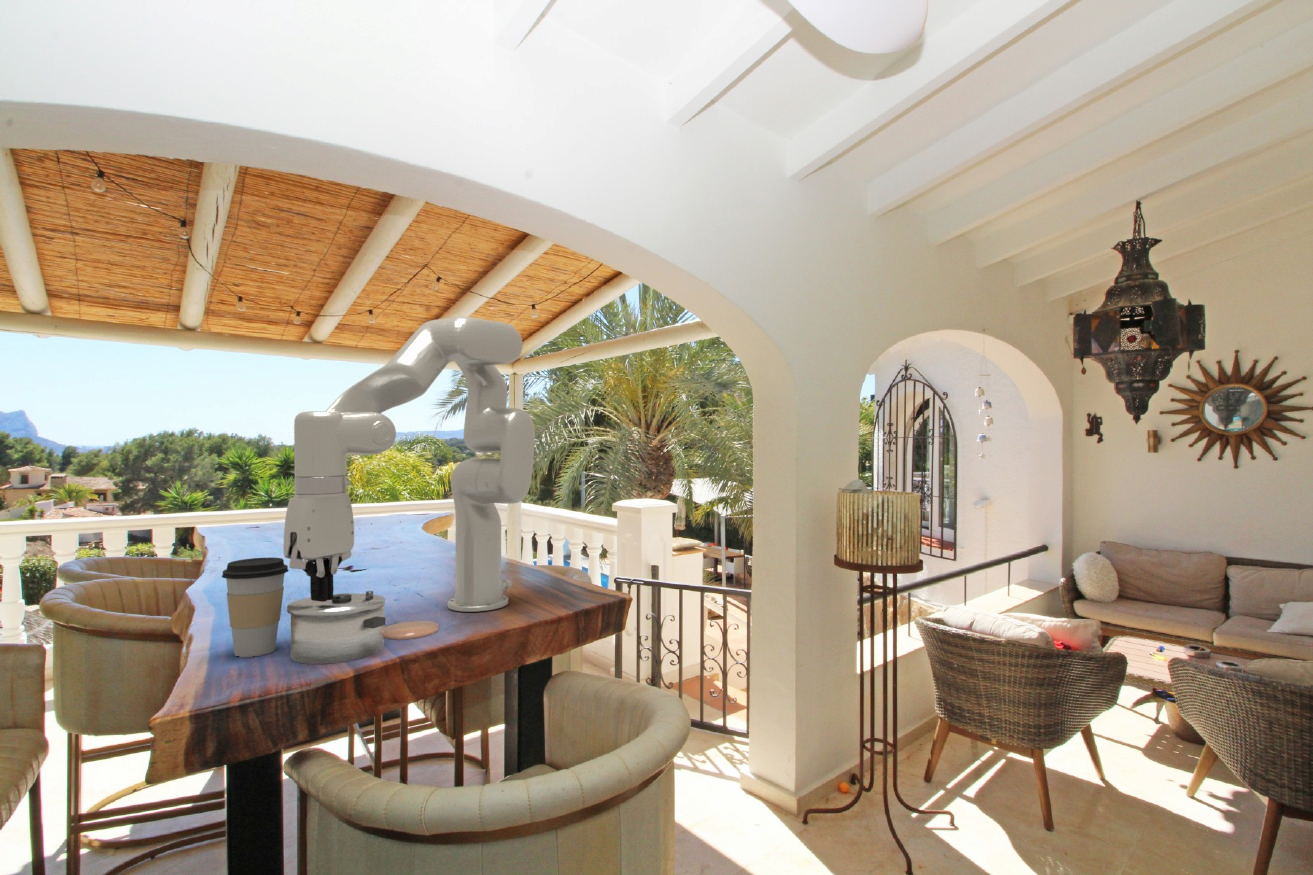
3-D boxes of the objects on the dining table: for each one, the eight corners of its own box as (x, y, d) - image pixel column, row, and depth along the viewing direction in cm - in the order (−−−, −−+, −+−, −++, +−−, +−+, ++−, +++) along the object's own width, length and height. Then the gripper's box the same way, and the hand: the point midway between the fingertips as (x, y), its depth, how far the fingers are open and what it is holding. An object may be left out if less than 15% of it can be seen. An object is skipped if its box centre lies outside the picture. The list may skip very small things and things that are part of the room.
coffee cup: (275, 640, 112) (276, 554, 113) (297, 650, 106) (298, 560, 107) (212, 653, 105) (213, 562, 105) (232, 665, 99) (233, 568, 99)
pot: (334, 633, 117) (335, 595, 117) (411, 644, 110) (411, 604, 110) (261, 655, 104) (262, 613, 104) (343, 670, 97) (343, 625, 97)
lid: (341, 595, 116) (342, 584, 116) (403, 602, 110) (404, 590, 111) (265, 611, 103) (266, 598, 103) (332, 620, 97) (332, 607, 97)
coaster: (409, 621, 124) (409, 618, 124) (450, 627, 120) (450, 624, 120) (367, 635, 115) (367, 632, 115) (411, 641, 111) (411, 638, 111)
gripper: (342, 483, 112) (343, 588, 112) (261, 490, 98) (262, 609, 98) (374, 484, 109) (375, 591, 109) (295, 491, 96) (296, 613, 95)
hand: (322, 599), depth 104 cm, fingers closed
